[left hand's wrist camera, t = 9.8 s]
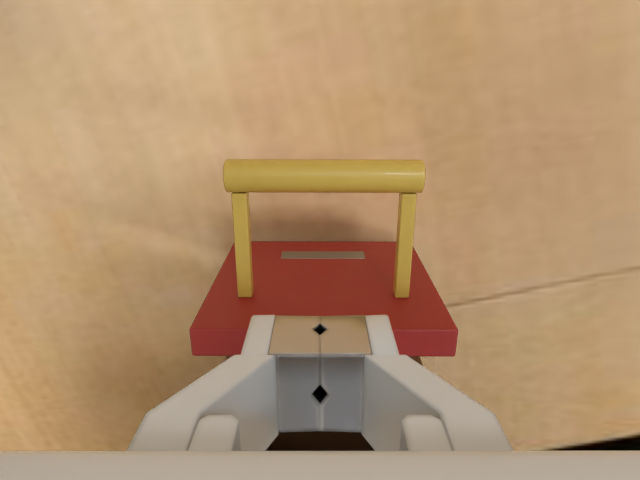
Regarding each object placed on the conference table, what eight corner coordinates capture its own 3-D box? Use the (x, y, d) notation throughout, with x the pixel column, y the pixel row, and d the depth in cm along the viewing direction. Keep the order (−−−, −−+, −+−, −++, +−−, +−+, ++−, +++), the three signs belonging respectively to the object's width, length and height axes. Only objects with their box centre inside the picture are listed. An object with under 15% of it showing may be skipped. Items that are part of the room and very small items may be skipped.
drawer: (227, 137, 24) (171, 174, 15) (418, 137, 24) (477, 175, 15) (248, 454, 31) (219, 607, 22) (394, 455, 31) (424, 608, 22)
